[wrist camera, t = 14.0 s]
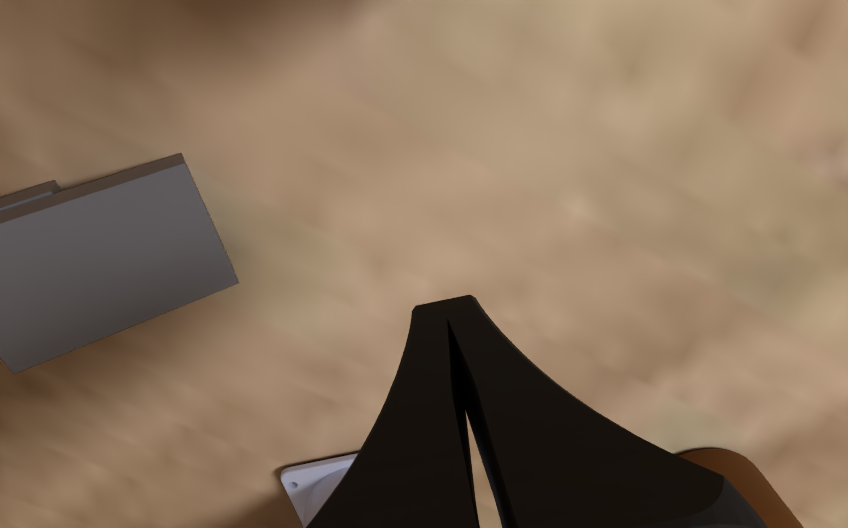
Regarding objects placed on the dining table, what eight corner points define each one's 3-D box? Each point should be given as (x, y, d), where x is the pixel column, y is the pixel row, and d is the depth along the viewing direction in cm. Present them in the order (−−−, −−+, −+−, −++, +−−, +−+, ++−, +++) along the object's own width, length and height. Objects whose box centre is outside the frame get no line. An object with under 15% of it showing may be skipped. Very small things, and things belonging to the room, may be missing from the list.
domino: (239, 282, 21) (13, 374, 19) (232, 266, 22) (21, 350, 20) (185, 163, 19) (-85, 251, 16) (181, 152, 20) (-69, 233, 17)
